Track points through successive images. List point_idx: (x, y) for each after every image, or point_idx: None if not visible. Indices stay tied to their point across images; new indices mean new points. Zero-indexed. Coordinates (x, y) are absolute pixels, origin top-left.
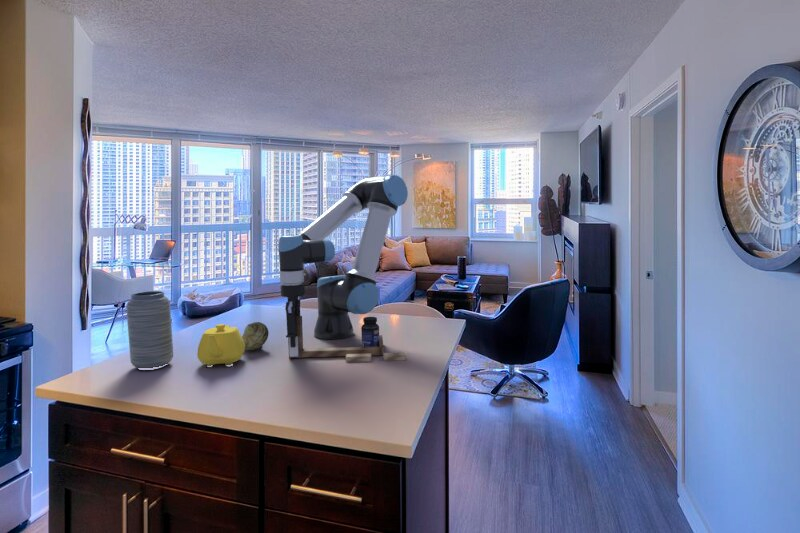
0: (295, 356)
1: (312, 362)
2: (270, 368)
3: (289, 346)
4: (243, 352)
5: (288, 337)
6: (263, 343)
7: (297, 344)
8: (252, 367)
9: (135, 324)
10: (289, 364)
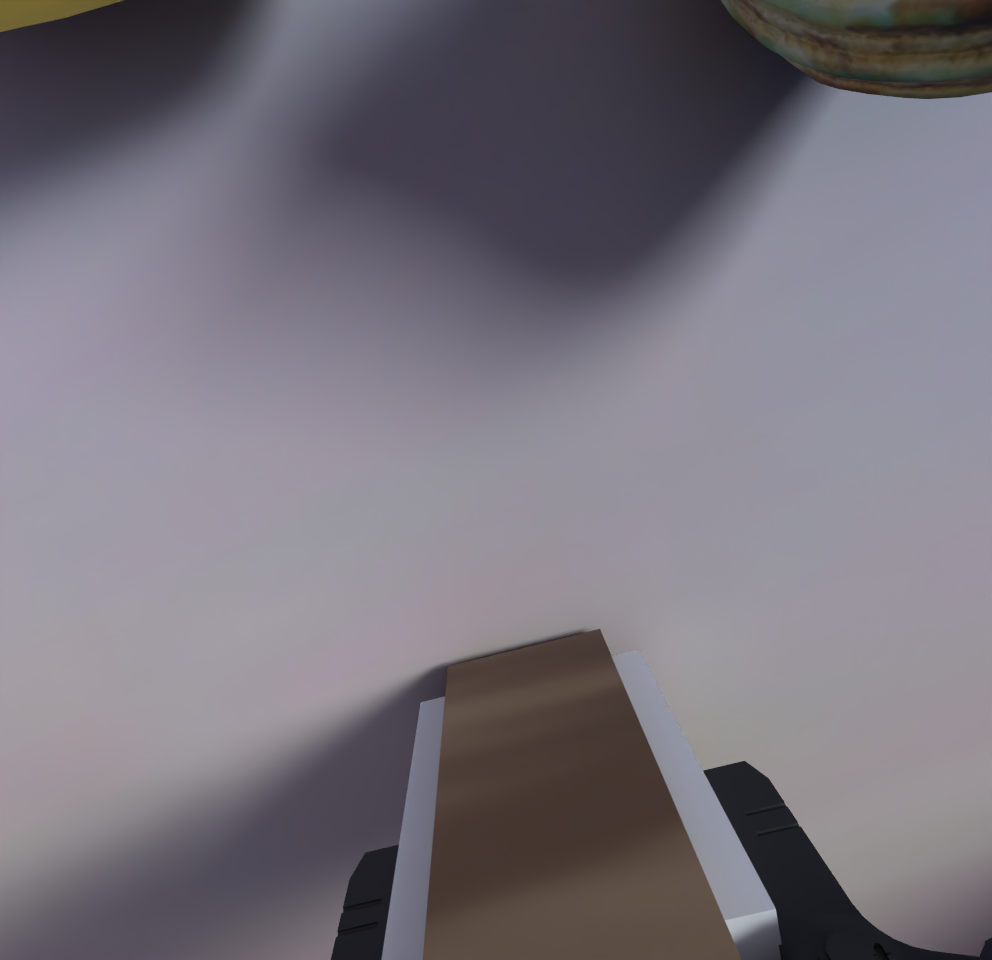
0: None
1: None
2: (73, 601)
3: (406, 818)
4: (84, 1)
5: (426, 949)
6: (824, 84)
7: None
8: (25, 357)
9: None
10: (269, 741)
